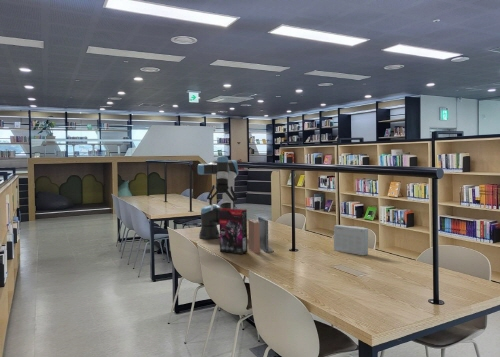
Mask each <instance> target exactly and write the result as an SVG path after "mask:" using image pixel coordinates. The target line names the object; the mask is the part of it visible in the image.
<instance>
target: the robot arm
mask: <svg viewBox="0 0 500 357" xmlns="http://www.w3.org/2000/svg"><path fill="white" fill-rule="evenodd" d="M197 174H198V175H201V176H202V175H216V185H214V184H213V185H212V186H211V189H210V191H209V193H208V195H207V197H206V200H208V201H209V205H208V206H207V205H206V206H203V207H202V208H201V209H200V220H201V222H200V223H201V226H200V227H201V228H200V230H199V234H198V236H199V239H202V240H214V239H218V238H219V239H220V230H219V229H218V224H220V223H219V210H220V209H223V208H229V209H238V207H236V204H235V202H236V201H237V200H238V197H237V196H236V193H235V180H236V178H237V176H238V175H239V167H238V161H237V160H235V159H234V160H233V159H229V158H228V156H226V155H225V156H224V155H219V156H218V157H217V158H216V160H212V161H209V162H207V163H198V165H197ZM215 189H216V191H214V190H215ZM213 191H214V193H213ZM212 193H213V194H212ZM218 193H220V194H222V200H221V203H220V205H219V207H218V206H217V205H214V198H215V197H216V195H217V194H218Z"/></svg>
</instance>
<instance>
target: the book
mask: <svg viewBox="0 0 500 357" xmlns="http://www.w3.org/2000/svg"><path fill="white" fill-rule="evenodd" d="M247 223H248V224H247V229H248V249H249V250H250V251H251V252H253V253H254V254H259V253H261V252H260V251H261V248H260V227H259V222H258V221H257V220H256V219H253V218H252V219H247Z"/></svg>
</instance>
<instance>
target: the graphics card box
mask: <svg viewBox="0 0 500 357" xmlns="http://www.w3.org/2000/svg"><path fill="white" fill-rule="evenodd" d="M247 212H248V210H247V209H245V208H243V209H241V208H237V209H229V208H223V209H220V210H219V223H218V224H219V234H220V237H219V252H221V253H231V254H236V255H237V254H238V255H244V254H246V253H248V224H247V223H248V216H247V215H248V213H247Z"/></svg>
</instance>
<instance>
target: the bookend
mask: <svg viewBox="0 0 500 357" xmlns="http://www.w3.org/2000/svg"><path fill="white" fill-rule="evenodd" d="M257 220H258V222H259V227H260V250H262V251H263V252H265V253H275V250H274V249H272V248H270V247H269V220H267V219H265V218H264V217H262V216H258V218H257Z"/></svg>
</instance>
